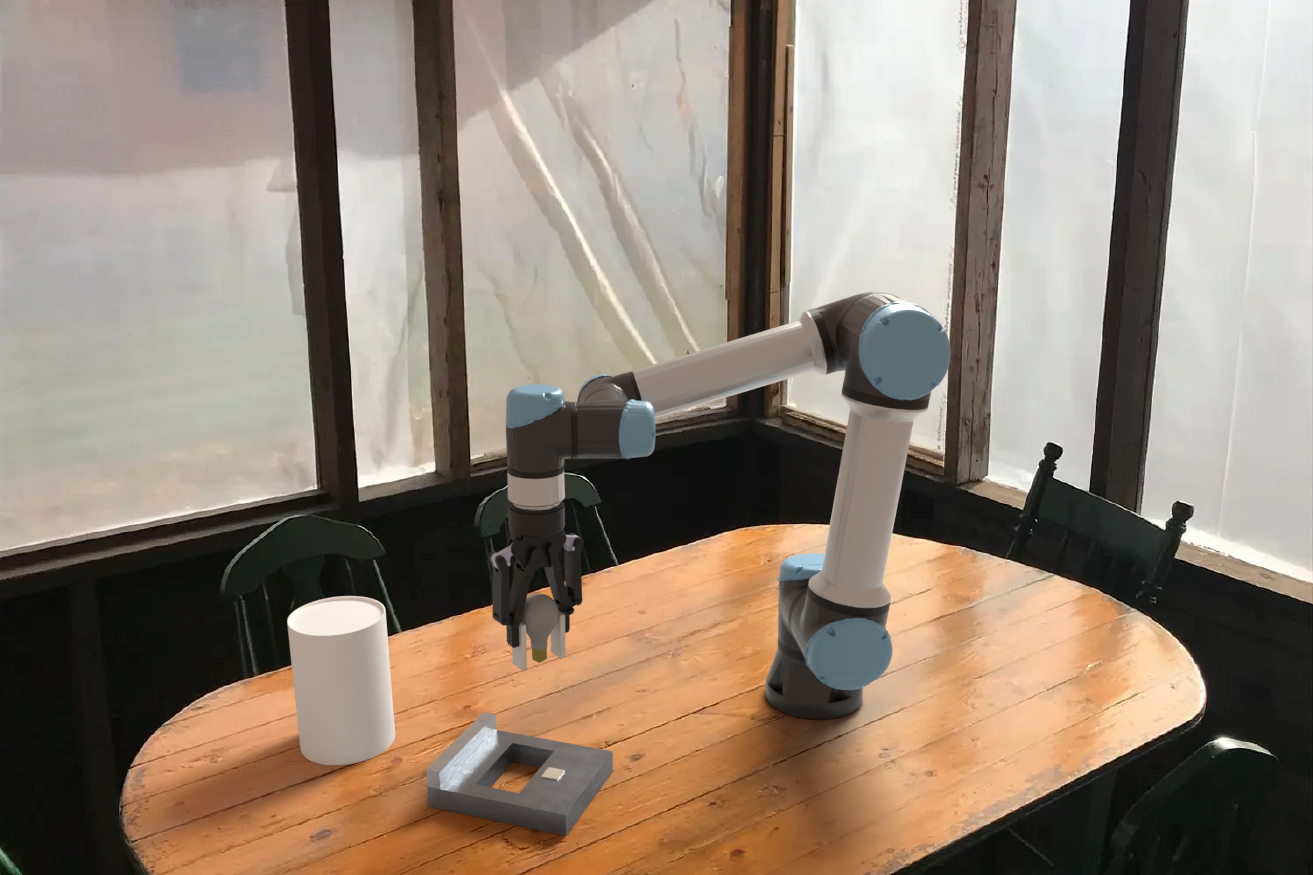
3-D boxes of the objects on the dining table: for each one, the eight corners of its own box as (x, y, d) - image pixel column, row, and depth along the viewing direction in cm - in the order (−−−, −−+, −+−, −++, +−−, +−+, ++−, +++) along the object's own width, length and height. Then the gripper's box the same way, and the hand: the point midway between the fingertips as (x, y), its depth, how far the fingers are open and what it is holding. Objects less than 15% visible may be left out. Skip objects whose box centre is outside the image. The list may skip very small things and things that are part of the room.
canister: (295, 728, 172) (282, 605, 166) (386, 709, 177) (376, 590, 171) (306, 773, 160) (292, 642, 154) (403, 752, 165) (393, 625, 159)
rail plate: (613, 770, 160) (612, 735, 158) (566, 835, 145) (565, 797, 144) (485, 745, 166) (483, 712, 165) (428, 806, 152) (425, 769, 150)
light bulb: (511, 664, 157) (509, 597, 155) (535, 649, 162) (533, 584, 159) (544, 674, 155) (542, 606, 152) (566, 658, 159) (565, 592, 157)
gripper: (580, 482, 160) (581, 634, 166) (460, 506, 150) (466, 667, 156) (609, 496, 154) (609, 653, 160) (487, 522, 144) (492, 689, 150)
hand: (539, 660), depth 158 cm, fingers closed on light bulb, 5 cm apart
